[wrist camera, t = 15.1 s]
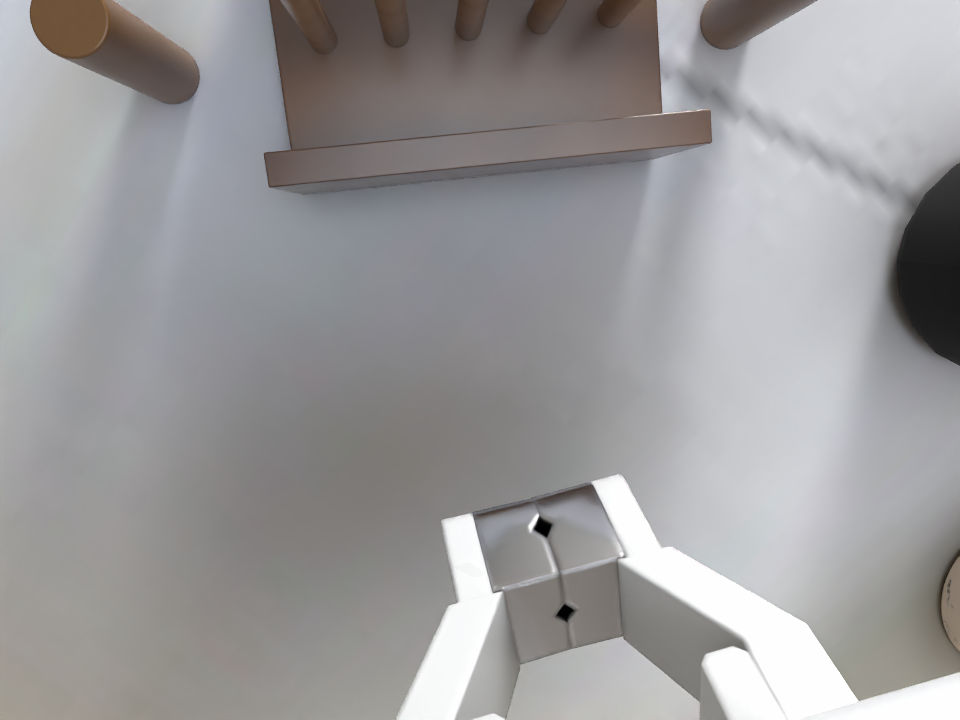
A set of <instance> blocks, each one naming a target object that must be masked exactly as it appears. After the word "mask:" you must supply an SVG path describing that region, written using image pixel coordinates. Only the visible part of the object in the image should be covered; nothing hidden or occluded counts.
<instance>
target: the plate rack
mask: <svg viewBox="0 0 960 720" xmlns="http://www.w3.org/2000/svg"><path fill="white" fill-rule="evenodd" d="M269 3H270V10H271V17H272V24H273V30H274V37H275V44H276V51H277V58H278V65H279V71H280V78H281V85H282V92H283V99H284V106H285V112H286V119H287V126H288V133H289V140H290V147H291V150H287V151H277V152H267V153H264V159H265V165H266V172H267V178H268V185H269V187H270V188H275V189H280V190H284V191H289V192H294V193H300V194H315V193H324V192H334V191H344V190H354V189H364V188H374V187H384V186H394V185H403V184H413V183H423V182H433V181H443V180H453V179H463V178H472V177H482V176H492V175H502V174H512V173H522V172H532V171H542V170H551V169H561V168H571V167H581V166H591V165H601V164H611V163H620V162H630V161H640V160H650V159H656V158H659V157H663V156H667V155H670V154H674V153H678V152H681V151H685V150H688V149H692V148H695V147H699V146H703V145H706V144H710V143H711V142H712V135H711V110H710V109H703V110H692V111H682V112H672V113H662V99H661V80H660V60H659V41H658V21H657V2H656V0H269Z"/></svg>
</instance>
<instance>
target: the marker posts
mask: <svg viewBox="0 0 960 720" xmlns="http://www.w3.org/2000/svg"><path fill="white" fill-rule="evenodd" d="M816 1H817V0H709V1H708V2H707V3H706V5H705V7H704V9H703V11H702V15H701V29H702V32H703V35H704V37H705V38H706V40H707V41H708V42H709V43H710V44H711V45H713V46H715V47H717V48H720V49H732V48H735V47H737V46H739V45H741V44H743V43H744V42H746V41H748V40H750V39H751V38H753V37H755V36H757V35H758V34H760V33H762V32H764V31H765V30H767V29H769V28H770V27H772V26H774V25H776V24H777V23H779V22H781V21H783V20H784V19H786V18H788V17H790V16H791V15H793V14H795V13H797V12H798V11H800V10H802V9H803V8H805V7H807V6H809V5H810V4H812V3H814V2H816ZM30 20H31V24H32V27H33V30H34V32H35V34H36V36H37V38H38V39H39V41H40V42H41V43H42V44H43V45H44V46H45V47H46V48H47V49H48V50H49V51H51V52H52V53H54V54H56V55H58V56H60V57H62V58H64V59H67V60H69V61H71V62H73V63H76V64H78V65H80V66H82V67H85V68H87V69H89V70H91V71H94V72H96V73H98V74H100V75H103V76H105V77H107V78H109V79H112V80H114V81H116V82H118V83H121V84H123V85H125V86H127V87H130V88H132V89H134V90H137V91H139V92H141V93H143V94H146V95H148V96H150V97H152V98H155V99H157V100H159V101H161V102H164V103H168V104H178V103H182V102H184V101H186V100H188V99H189V98H190V97H192V95H193V94H194V93H195V91H196V89H197V87H198V84H199V70H198V67H197V64H196V62H195V60H194V59H193V57H192V56H191V55H190V54H189V53H188V52H187V51H185V50H184V49H182V48H181V47H179V46H178V45H177V44H175V43H174V42H172V41H171V40H169V39H168V38H166V37H165V36H164V35H162V34H161V33H159V32H158V31H156V30H155V29H153V28H152V27H151V26H149V25H148V24H146V23H145V22H143V21H142V20H140V19H139V18H138V17H136V16H135V15H133V14H132V13H130V12H129V11H127V10H126V9H125V8H123V7H122V6H120V5H119V4H117V3H116V2H114V1H113V0H32V2H31V6H30Z"/></svg>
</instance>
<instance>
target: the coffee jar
mask: <svg viewBox="0 0 960 720" xmlns="http://www.w3.org/2000/svg"><path fill="white" fill-rule="evenodd" d="M898 279H899V291H900V296H901V299H902V301H903V304H904V307H905V309H906V312H907V314H908V317H909V319H910V322H911V324H912V326H913V327H914V328H915V329H916V331H917V332H918V333H919V334H920V335H921V336H922V337H923V339H924V340H925V341H926V342H927V343H928V344H929V345H930V347H931V348H932V349H933V350H934V351H935V352H936V353H937V354H939V355H941V356H943V357H945V358H947V359H948V360H950V361H952V362H954V363H956V364H958V365H960V163H959V164H957V165H956V166H955V167H953V168H952V169H951V170H950V171H949V172H948V173H947V174H946V175H945V176H944V177H943V178H942V179H941V180H940V181H939V182H938V183H936V184H935V185H934V186H933V187H932V188H931V189H930V190H929V191H928V192H927V193H926V194H925V196H924V197H923V199H922V201H921V203H920V204H919V206H918V208H917V209H916V211H915V213H914V215H913V216H912V218H911V220H910V221H909V223H908V225H907V227H906V228H905V232H904V236H903V240H902V244H901V248H900V252H899V256H898Z"/></svg>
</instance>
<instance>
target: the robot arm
mask: <svg viewBox="0 0 960 720" xmlns="http://www.w3.org/2000/svg"><path fill="white" fill-rule="evenodd" d="M472 513H473V516H472ZM472 513H469V514H465V515H461V516H456V517H452V518H448V519H444V520H441V524H442V533H443V537H444V542H445V547H446V552H447V557H448V562H449V567H450V572H451V577H452V582H453V586H454V591H455V596H456V601H457V603H455V604H452V605H448V607H447V609H446V611H445V613H444V615H443V617H442V620H441V622H440V624H439V626H438V628H437V630H436V633H435V635H434V637H433V639H432V641H431V643H430V646H429V648H428V650H427V652H426V654H425V657H424V659H423V661H422V663H421V665H420V667H419V670H418V672H417V674H416V676H415V678H414V680H413V683H412V685H411V687H410V689H409V691H408V693H407V696H406V698H405V700H404V702H403V704H402V706H401V709H400V711H399V713H398V715H397V717H396V720H506V716H507V713H508V709H509V706H510V702H511V699H512V695H513V692H514V688H515V685H516V681H517V678H518V674H519V671H520V664H523V663H527V662H530V661H533V660H536V659H540V658H543V657H546V656H549V655H553V654H556V653H559V652H563V651H566V650H569V649H573V648H577V647H581V646H585V645H589V644H593V643H597V642H601V641H605V640H609V639H613V638H617V637H621V636H623V638H624V640H626V641H627V642H628V643H629V644H630V645H632V646H633V647H634V648H635V649H637V650H638V651H639V652H640V653H641V654H643V655H644V656H645V657H646V658H647V659H649V660H650V661H651V662H652V663H653V664H655V665H656V666H657V667H658V668H659V669H661V670H662V671H663V672H664V673H665V674H667V675H668V676H669V677H670V678H671V679H673V680H674V681H675V682H676V683H677V684H679V685H680V686H681V687H682V688H683V689H685V690H686V691H687V692H688V693H690V694H691V695H692V696H693V697H694V698H696V699H697V700H698V701H699V702H700V719H699V720H960V672H958V673H955V674H951V675H948V676H944V677H941V678H938V679H934V680H931V681H927V682H924V683H920V684H917V685H913V686H910V687H907V688H903V689H900V690H896V691H893V692H889V693H886V694H882V695H879V696H875V697H872V698H869V699H865V700H862V701H858V700H857V699H856V697H855V696H854V694H853V693H852V691H851V690H850V688H849V687H848V685H847V684H846V682H845V681H844V679H843V678H842V676H841V675H840V673H839V672H838V670H837V669H836V667H835V666H834V664H833V663H832V661H831V660H830V658H829V657H828V655H827V654H826V652H825V651H824V649H823V648H822V646H821V645H820V643H819V642H818V640H817V639H816V637H815V636H814V634H813V633H812V631H811V630H810V628H809V627H808V625H807V624H806V623H804V622H802V621H801V620H799V619H797V618H795V617H794V616H792V615H790V614H789V613H787V612H785V611H783V610H782V609H780V608H778V607H776V606H775V605H773V604H771V603H769V602H768V601H766V600H764V599H762V598H761V597H759V596H757V595H755V594H754V593H752V592H750V591H748V590H747V589H745V588H743V587H741V586H740V585H738V584H736V583H734V582H733V581H731V580H729V579H727V578H726V577H724V576H722V575H720V574H719V573H717V572H715V571H713V570H712V569H710V568H708V567H706V566H705V565H703V564H701V563H699V562H698V561H696V560H694V559H692V558H691V557H689V556H687V555H685V554H684V553H682V552H680V551H678V550H677V549H675V548H673V547H671V546H668V547H664V548H661V546H660V544H659V542H658V540H657V539H656V537H655V535H654V533H653V531H652V529H651V527H650V525H649V524H648V522H647V520H646V518H645V516H644V514H643V512H642V510H641V509H640V507H639V505H638V503H637V501H636V499H635V497H634V495H633V494H632V492H631V490H630V488H629V486H628V484H627V482H626V480H625V479H624V477H622V476H621V475H620V474H618V475H614V476H610V477H607V478H603V479H599V480H595V481H592V482H590V483H584V484H580V485H576V486H573V487H569V488H565V489H562V490H558V491H554V492H551V493H547V494H543V495H540V496H536V497H532V498H531V499H527V500H522V501H518V502H514V503H510V504H505V505H501V506H497V507H492V508H488V509H484V510H480V511H475V512H472ZM473 518H474V519H473ZM474 522H475V523H474Z"/></svg>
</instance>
